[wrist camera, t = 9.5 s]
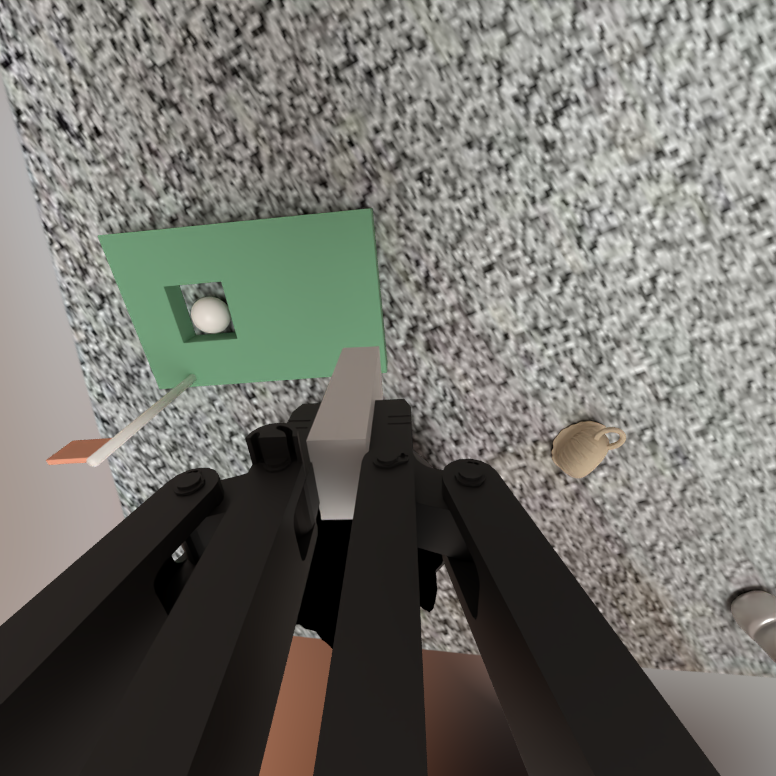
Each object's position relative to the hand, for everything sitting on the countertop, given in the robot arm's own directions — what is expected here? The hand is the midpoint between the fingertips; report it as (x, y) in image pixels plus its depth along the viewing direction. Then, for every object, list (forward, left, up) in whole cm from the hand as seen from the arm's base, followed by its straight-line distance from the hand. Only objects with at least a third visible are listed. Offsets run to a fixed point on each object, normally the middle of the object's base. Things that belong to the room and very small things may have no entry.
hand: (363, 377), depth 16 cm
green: (+1, -12, -23) cm, 26 cm away
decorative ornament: (+20, +21, -23) cm, 37 cm away
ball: (+2, -17, -21) cm, 27 cm away
